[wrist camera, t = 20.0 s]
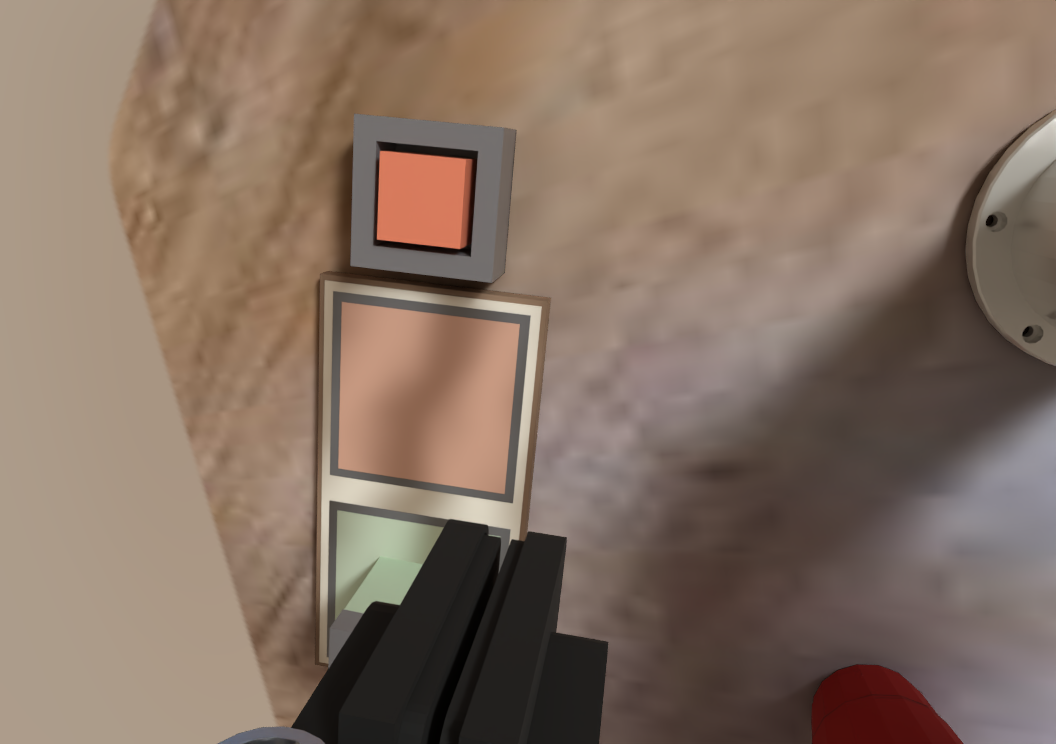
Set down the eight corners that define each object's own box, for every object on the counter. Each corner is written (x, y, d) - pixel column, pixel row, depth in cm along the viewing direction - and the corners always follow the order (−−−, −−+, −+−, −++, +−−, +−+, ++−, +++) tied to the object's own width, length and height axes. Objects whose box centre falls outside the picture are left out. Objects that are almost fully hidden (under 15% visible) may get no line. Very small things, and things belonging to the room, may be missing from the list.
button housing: (516, 130, 37) (503, 127, 34) (504, 272, 39) (491, 282, 36) (378, 117, 38) (354, 113, 35) (373, 257, 40) (350, 265, 37)
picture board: (550, 297, 39) (547, 302, 38) (511, 689, 46) (507, 703, 45) (327, 270, 40) (318, 274, 39) (321, 654, 47) (313, 666, 46)
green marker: (456, 569, 43) (420, 645, 36) (450, 637, 44) (414, 723, 37) (379, 555, 43) (329, 628, 37) (375, 623, 45) (327, 705, 38)
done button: (481, 158, 37) (465, 159, 34) (475, 241, 38) (460, 249, 35) (401, 151, 38) (379, 150, 35) (398, 232, 39) (376, 239, 36)
